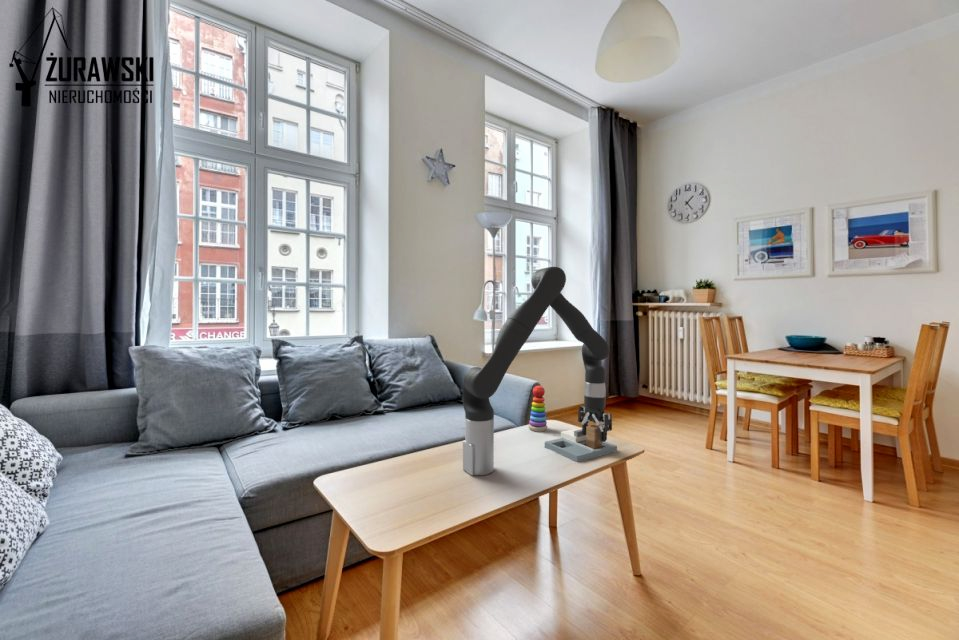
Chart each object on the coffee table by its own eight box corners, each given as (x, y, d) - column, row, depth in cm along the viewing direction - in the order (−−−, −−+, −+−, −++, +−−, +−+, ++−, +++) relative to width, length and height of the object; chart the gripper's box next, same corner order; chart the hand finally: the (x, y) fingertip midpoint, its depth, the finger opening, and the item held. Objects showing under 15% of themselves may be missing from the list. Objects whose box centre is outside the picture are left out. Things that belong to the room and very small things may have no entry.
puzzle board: (576, 462, 140) (577, 454, 140) (544, 447, 155) (544, 440, 155) (616, 451, 151) (617, 444, 151) (582, 438, 165) (583, 431, 165)
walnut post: (594, 453, 148) (594, 429, 148) (586, 450, 152) (586, 426, 151) (602, 451, 150) (602, 427, 150) (593, 448, 154) (594, 424, 153)
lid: (575, 442, 153) (575, 432, 153) (560, 436, 160) (560, 426, 160) (590, 438, 157) (590, 428, 157) (575, 433, 164) (575, 423, 164)
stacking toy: (548, 432, 173) (549, 388, 172) (529, 432, 173) (530, 387, 172) (546, 426, 181) (546, 384, 180) (527, 426, 181) (528, 384, 180)
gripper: (573, 391, 154) (572, 434, 155) (602, 399, 142) (602, 445, 143) (587, 389, 158) (587, 431, 159) (617, 396, 146) (616, 442, 146)
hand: (594, 438), depth 151 cm, fingers open, 8 cm apart
